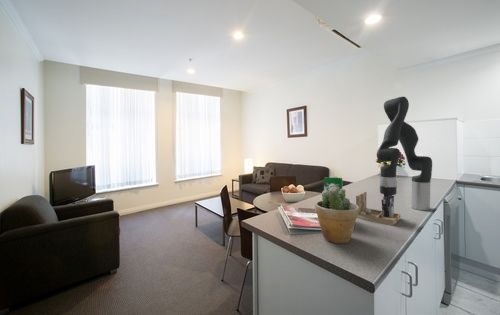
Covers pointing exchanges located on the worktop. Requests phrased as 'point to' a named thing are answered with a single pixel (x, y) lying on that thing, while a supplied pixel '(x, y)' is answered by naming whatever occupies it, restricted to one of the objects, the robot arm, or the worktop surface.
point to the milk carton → (332, 182)
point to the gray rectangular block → (391, 212)
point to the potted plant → (336, 215)
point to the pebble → (368, 211)
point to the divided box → (374, 212)
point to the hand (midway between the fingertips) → (387, 215)
